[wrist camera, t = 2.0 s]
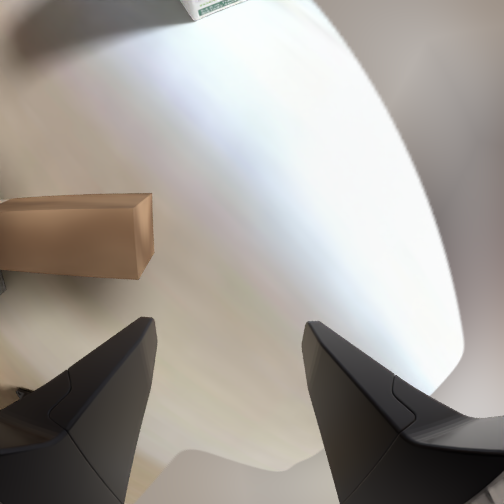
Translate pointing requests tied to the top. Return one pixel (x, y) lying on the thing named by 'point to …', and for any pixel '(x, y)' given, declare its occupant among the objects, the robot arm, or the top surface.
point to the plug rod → (78, 235)
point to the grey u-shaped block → (2, 284)
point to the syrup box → (206, 7)
